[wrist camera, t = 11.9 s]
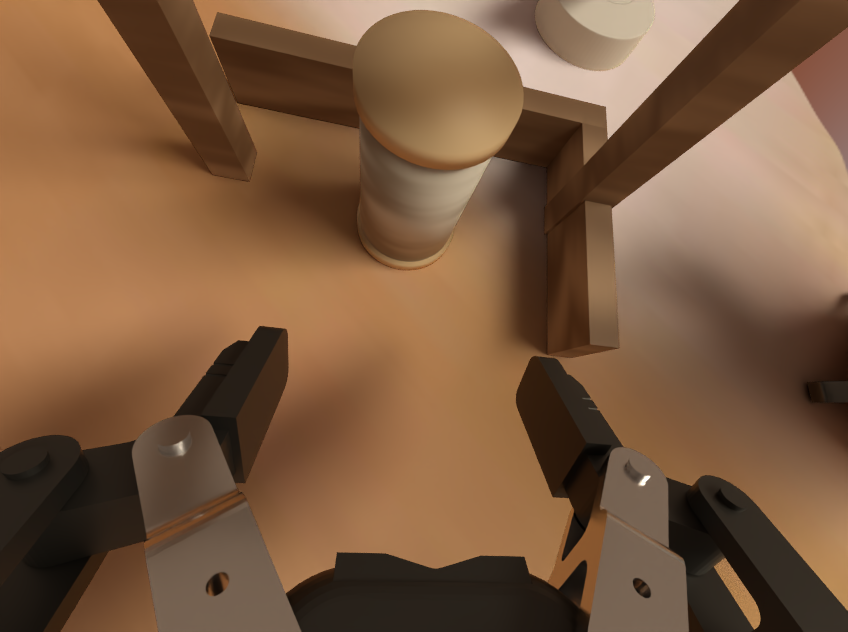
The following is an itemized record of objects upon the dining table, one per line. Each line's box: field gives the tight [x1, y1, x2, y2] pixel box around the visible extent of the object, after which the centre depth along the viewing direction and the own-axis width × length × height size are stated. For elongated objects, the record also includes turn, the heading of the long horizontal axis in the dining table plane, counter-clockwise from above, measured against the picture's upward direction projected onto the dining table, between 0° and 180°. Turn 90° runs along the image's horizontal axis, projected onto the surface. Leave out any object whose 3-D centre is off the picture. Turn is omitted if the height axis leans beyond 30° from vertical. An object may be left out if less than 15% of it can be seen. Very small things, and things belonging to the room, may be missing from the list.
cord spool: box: [353, 10, 524, 270], centre depth 16 cm, size 6×6×10 cm
